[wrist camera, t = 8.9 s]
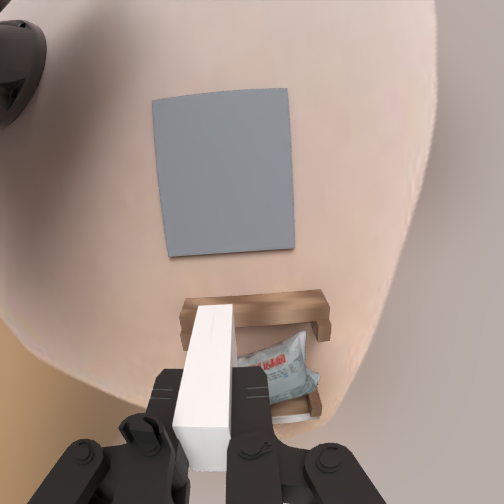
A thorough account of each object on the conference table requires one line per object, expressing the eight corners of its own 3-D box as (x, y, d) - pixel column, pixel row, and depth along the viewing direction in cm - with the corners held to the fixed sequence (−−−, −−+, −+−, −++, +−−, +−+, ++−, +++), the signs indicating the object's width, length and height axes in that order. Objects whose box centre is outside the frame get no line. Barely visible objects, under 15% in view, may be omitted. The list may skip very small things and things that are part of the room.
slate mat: (169, 254, 31) (168, 256, 30) (153, 101, 26) (152, 100, 25) (293, 246, 31) (294, 248, 30) (286, 89, 26) (287, 88, 25)
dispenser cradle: (208, 404, 38) (205, 430, 34) (185, 298, 33) (177, 322, 28) (313, 397, 38) (319, 422, 34) (320, 289, 33) (332, 311, 28)
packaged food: (207, 352, 34) (205, 379, 30) (302, 320, 34) (312, 346, 29) (235, 396, 37) (235, 423, 33) (318, 370, 37) (328, 396, 32)
